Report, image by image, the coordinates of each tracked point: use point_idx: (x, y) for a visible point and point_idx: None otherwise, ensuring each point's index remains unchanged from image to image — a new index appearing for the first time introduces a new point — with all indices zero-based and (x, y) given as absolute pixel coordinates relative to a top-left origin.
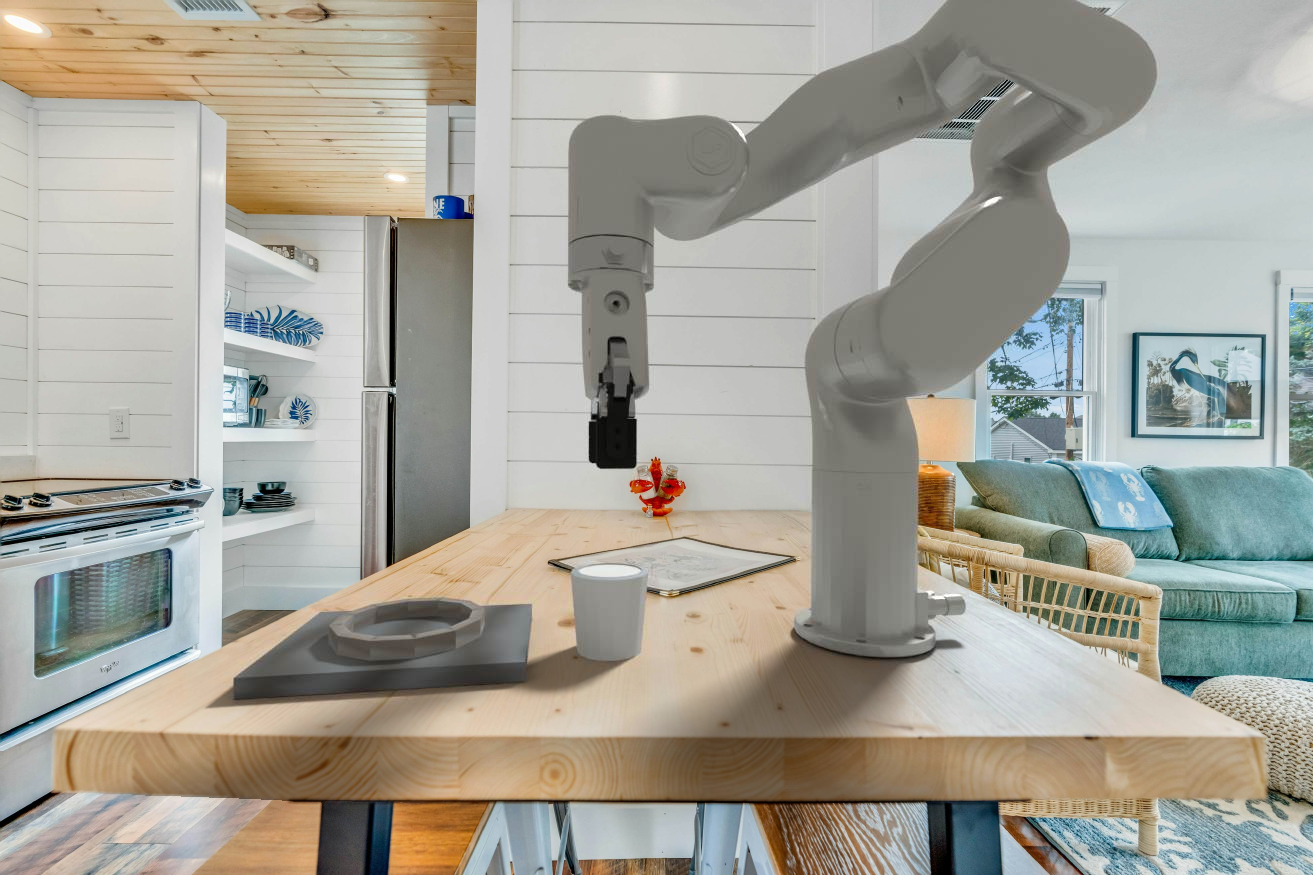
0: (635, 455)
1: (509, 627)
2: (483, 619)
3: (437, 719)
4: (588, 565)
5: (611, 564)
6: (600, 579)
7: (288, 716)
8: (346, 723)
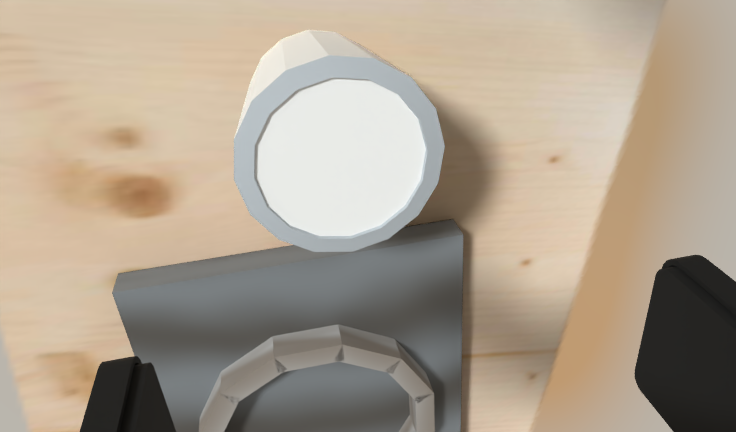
0: (729, 284)
1: (287, 294)
2: (293, 343)
3: (543, 288)
4: (283, 221)
5: (255, 163)
6: (434, 179)
7: (501, 417)
8: (530, 365)
